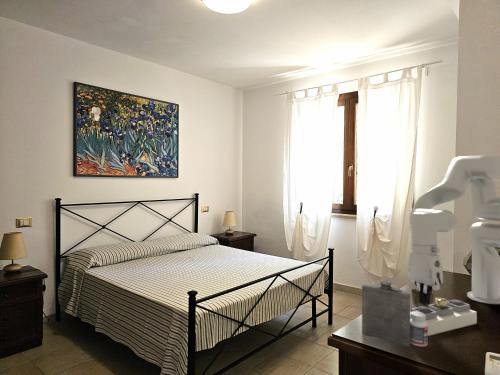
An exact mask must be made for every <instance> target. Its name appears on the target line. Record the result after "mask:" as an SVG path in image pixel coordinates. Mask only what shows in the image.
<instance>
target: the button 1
mask: <svg viewBox="0 0 500 375" xmlns="http://www.w3.org/2000/svg"><path fill="white" fill-rule="evenodd" d="M418 311H419V312H422V313H424V314H426V313H430V309H429V308H428V307H423V306H419V307H418Z"/></svg>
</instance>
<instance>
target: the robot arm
mask: <svg viewBox="0 0 500 375" xmlns="http://www.w3.org/2000/svg"><path fill="white" fill-rule="evenodd" d="M494 179H500V154H480V155H479V154H477V155H463V156H462V155H461V156H457V157H454V158H453V159H452V160H451V161H450V162H449V164H448V166H447V168H446V170H445V172H444V174H443V176H442V177H441V179H440V182H439V184H437V185H436V186H434V187H432V188H430V189H429V190H428V191H426V192H424V193H423V194H422V195H420V196H419V197H418V198H417V200H415V203H414V205H413V206H412V208H411V210H410V214H409V223H410V226H411V227H410V228H411V250H410V252H409V258H408V278H409V281H410V282H411V283H412V284H414V285H415V286H416V290H418V291H419V303H421V304H423V305H426V304H430V292H432V293H433V291H440V290H441V285H443V283H444V272H443V265H442V264H443V263H442V259H441V256H440V254H438V253H440V248H438V233H449V232H451V231H453V229H455V227H456V226H457V217H456V215H455V214H454V213H453V212H452V211H450V210H447V209H435V208H434V207H436V206H439V205H441V204H445V203H449V202H452V201H455V200H458V199H460V198H462V197H463V196H465V193H466V191H467V188H468V186H469V189H470V199H471V200H470V201H471V212H472V216H474V218H476V219H479V220H484V221H479V222H475V223H472V224H471V225H470V227H469V232H468V233H469V240H470V246H471V291H468V292H466V296H467V297H468V299H470V300H472V301H474V302H475V301H476V302H479V303H484V304H489V305H500V255H499V252H498V251H497V249H496V248H500V223H498V222H500V196H498V193H497V184H496V181H495V180H494ZM487 221H496V222H487Z"/></svg>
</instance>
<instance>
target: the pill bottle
mask: <svg viewBox="0 0 500 375" xmlns="http://www.w3.org/2000/svg"><path fill="white" fill-rule="evenodd" d="M410 312H411V311H410ZM425 319H426V315H425V314H424V313H422V312H418V311H413V312H411V319H410V345H413V346H417V347H427V346H428V344H429V343H428V342H429V340H428V338H429V336H428V324H427V322H426V321H425Z"/></svg>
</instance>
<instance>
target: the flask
mask: <svg viewBox="0 0 500 375" xmlns="http://www.w3.org/2000/svg"><path fill="white" fill-rule="evenodd" d="M379 284H380V285H378V284H370V283H369V284H368V283H362V284H361V334H362V335H363V336H367V337H372V338H375V339H376V338H377V339H379V340H383V341H387V342H390V343H394V344H397V345H399V346H402V347H411V343H410V312H411V292H409V291H408V290H407V291H406V290H403V289H399V288H396V287H392V286H391V285H392V281H391V280H386V279H382V280H379Z"/></svg>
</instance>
